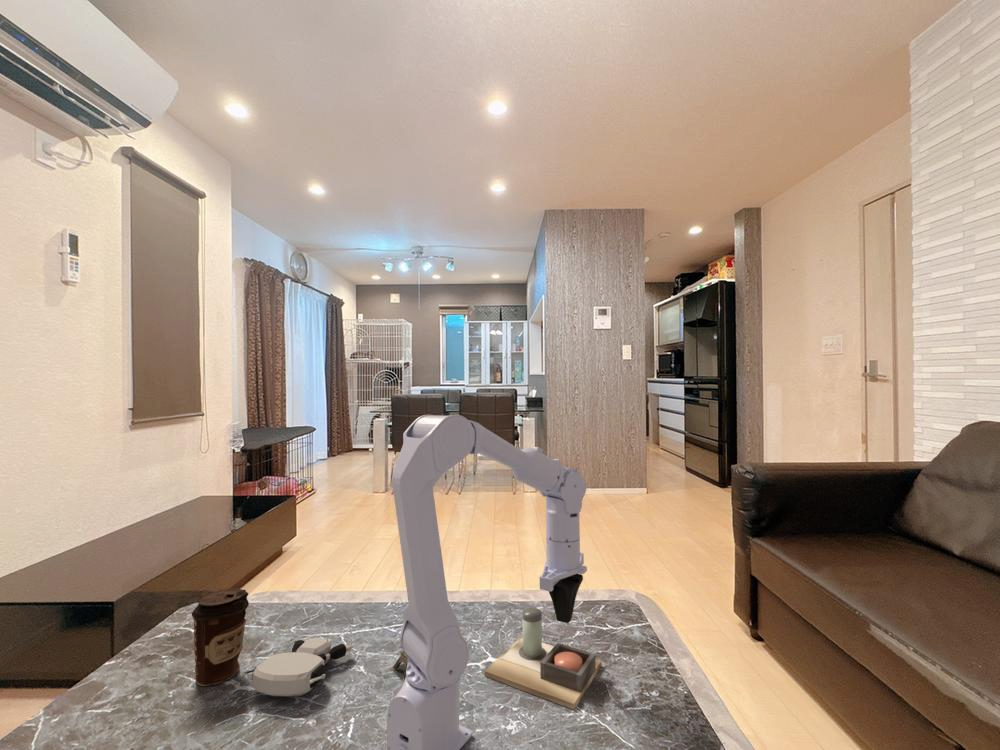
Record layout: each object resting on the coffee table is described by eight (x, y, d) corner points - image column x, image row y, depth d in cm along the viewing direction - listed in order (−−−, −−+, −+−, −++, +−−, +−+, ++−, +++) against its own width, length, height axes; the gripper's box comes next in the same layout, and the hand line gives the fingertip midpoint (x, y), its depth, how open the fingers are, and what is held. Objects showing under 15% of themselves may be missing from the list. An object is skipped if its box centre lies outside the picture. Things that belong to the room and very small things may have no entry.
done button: (576, 683, 68) (576, 670, 69) (550, 674, 71) (550, 662, 71) (586, 669, 72) (586, 656, 72) (561, 661, 75) (561, 648, 75)
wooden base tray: (574, 709, 64) (573, 686, 64) (484, 676, 72) (484, 655, 73) (601, 665, 75) (600, 646, 75) (521, 640, 83) (521, 623, 84)
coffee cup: (259, 665, 76) (262, 588, 77) (216, 695, 68) (221, 609, 69) (220, 657, 78) (224, 583, 79) (175, 685, 70) (179, 603, 71)
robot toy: (295, 656, 80) (233, 703, 66) (297, 630, 81) (236, 670, 66) (356, 662, 78) (306, 712, 64) (357, 635, 79) (309, 678, 64)
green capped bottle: (536, 659, 75) (536, 618, 76) (519, 654, 77) (519, 613, 78) (545, 650, 78) (544, 610, 79) (528, 645, 80) (528, 606, 81)
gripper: (568, 553, 65) (569, 646, 64) (599, 530, 78) (600, 609, 76) (527, 545, 69) (528, 634, 68) (562, 525, 81) (563, 600, 80)
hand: (563, 620), depth 72 cm, fingers closed
